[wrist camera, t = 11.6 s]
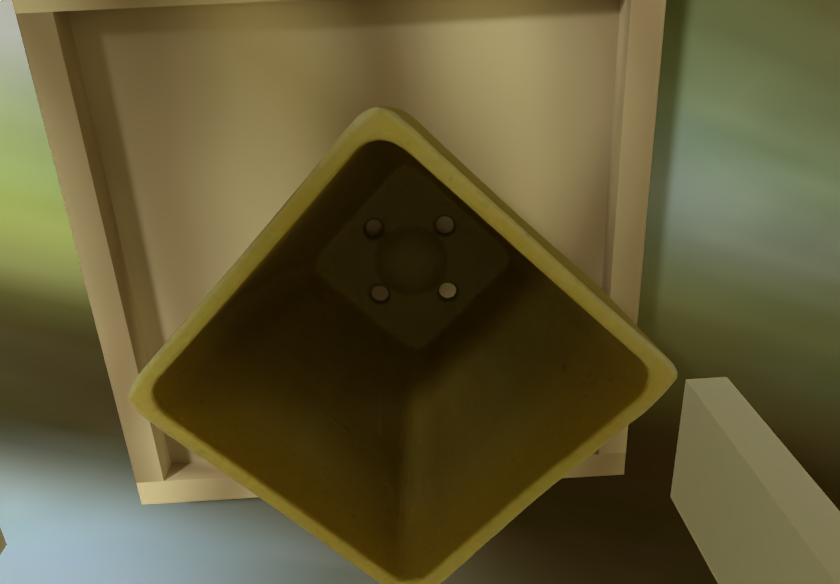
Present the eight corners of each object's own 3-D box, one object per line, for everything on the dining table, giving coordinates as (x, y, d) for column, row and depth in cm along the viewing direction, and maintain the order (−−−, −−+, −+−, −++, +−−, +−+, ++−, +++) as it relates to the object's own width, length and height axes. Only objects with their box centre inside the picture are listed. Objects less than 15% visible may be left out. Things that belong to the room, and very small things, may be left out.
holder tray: (154, 478, 28) (141, 504, 27) (30, -27, 21) (5, -27, 19) (612, 450, 28) (623, 474, 27) (652, -57, 21) (671, -59, 20)
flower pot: (401, 56, 21) (374, 94, 13) (603, 244, 23) (691, 380, 15) (229, 261, 24) (115, 401, 16) (423, 414, 26) (413, 609, 18)
